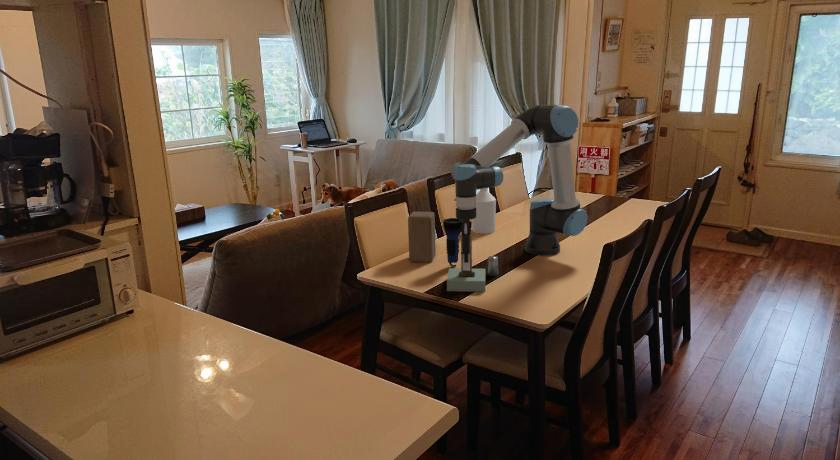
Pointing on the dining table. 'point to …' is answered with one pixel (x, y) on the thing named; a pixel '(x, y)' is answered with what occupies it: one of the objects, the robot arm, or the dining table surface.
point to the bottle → (484, 213)
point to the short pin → (493, 265)
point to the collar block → (466, 280)
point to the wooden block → (421, 236)
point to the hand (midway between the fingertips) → (466, 268)
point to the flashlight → (452, 238)
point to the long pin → (469, 273)
